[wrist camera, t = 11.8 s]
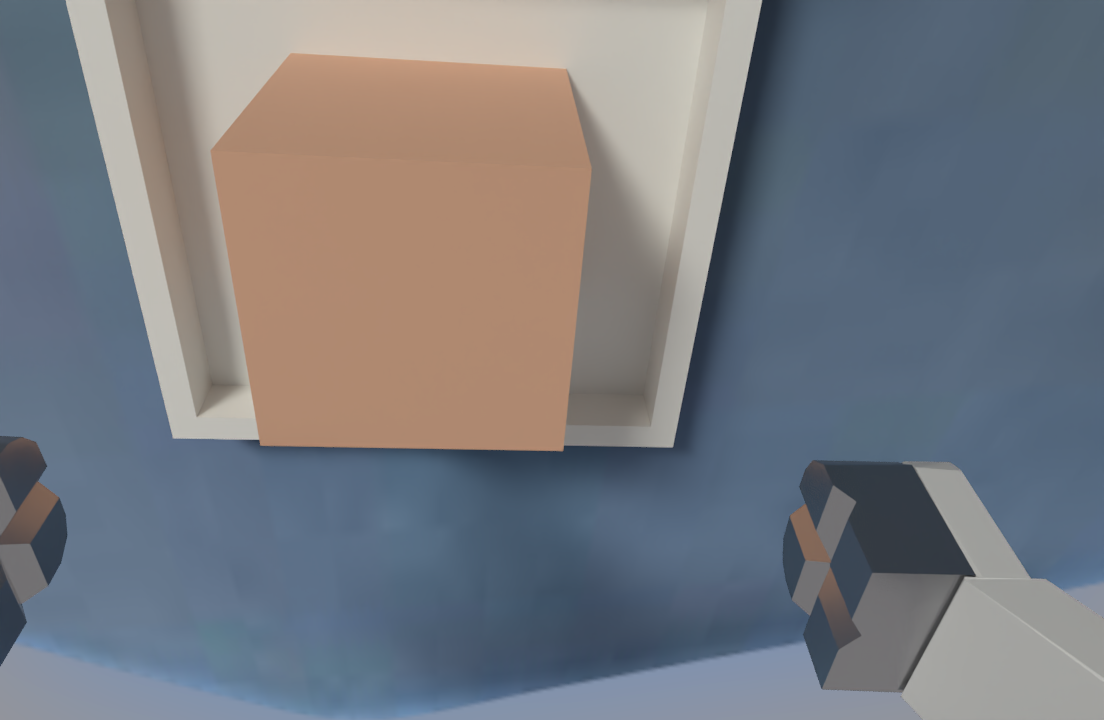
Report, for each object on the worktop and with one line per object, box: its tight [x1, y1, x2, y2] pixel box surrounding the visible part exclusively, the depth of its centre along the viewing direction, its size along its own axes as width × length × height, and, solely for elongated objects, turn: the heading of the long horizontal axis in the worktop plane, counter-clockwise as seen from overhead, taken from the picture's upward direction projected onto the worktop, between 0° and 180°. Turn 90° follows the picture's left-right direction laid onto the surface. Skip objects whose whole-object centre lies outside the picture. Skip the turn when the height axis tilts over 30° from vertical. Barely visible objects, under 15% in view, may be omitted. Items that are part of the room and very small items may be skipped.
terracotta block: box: [210, 53, 592, 451], centre depth 14 cm, size 5×5×5 cm
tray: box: [66, 0, 762, 447], centre depth 16 cm, size 11×11×2 cm
